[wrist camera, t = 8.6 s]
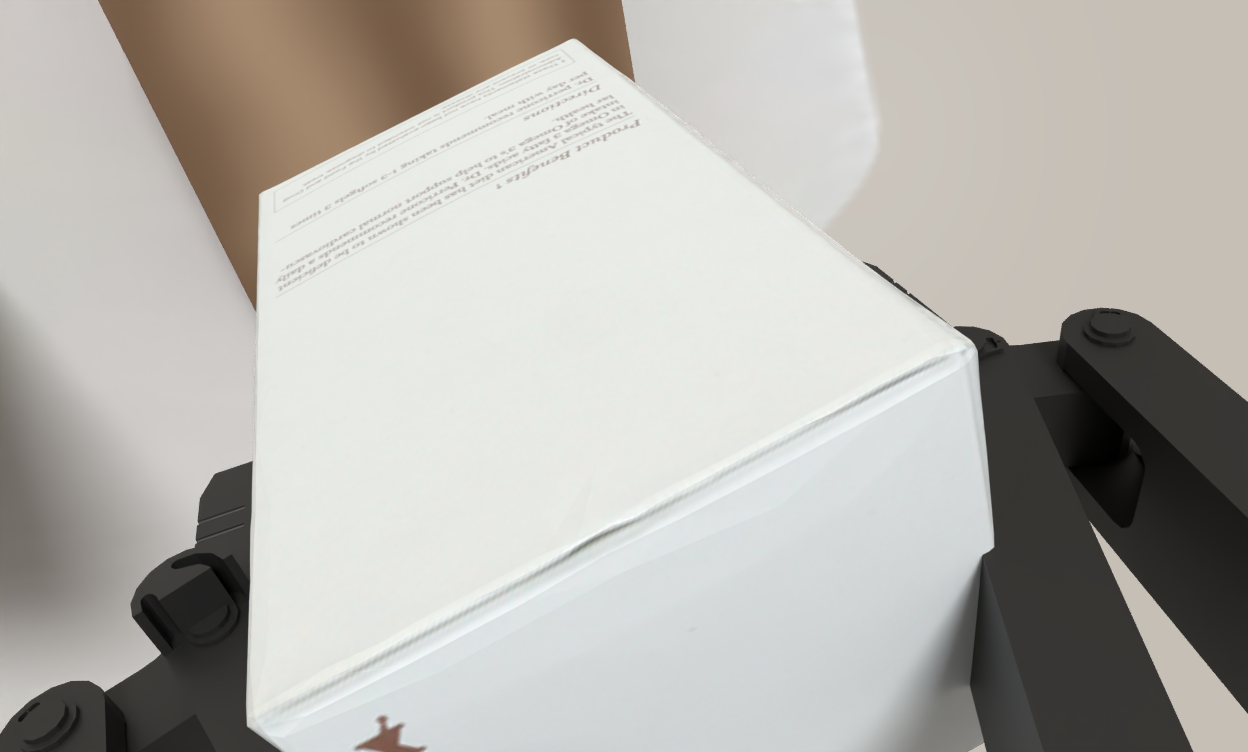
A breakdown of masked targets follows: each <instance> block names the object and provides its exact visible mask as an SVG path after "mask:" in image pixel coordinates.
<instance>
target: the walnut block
mask: <svg viewBox="0 0 1248 752" xmlns="http://www.w3.org/2000/svg"><path fill="white" fill-rule="evenodd" d="M98 1H99V3H100V5H101V7H102V9H103V11H104V13H105V15H106V17H107V19H108V21H109V23H110V25H111V27H112V29H113V31H114V33H115V35H116V37H117V39H118V41H119V43H120V45H121V47H122V49H123V51H124V52H125V54H126V56H127V58H128V60H129V62H130V64H131V66H132V68H133V70H134V72H135V74H136V76H137V78H138V80H139V82H140V84H141V86H142V88H143V90H144V92H145V94H146V96H147V98H148V100H149V102H150V104H151V106H152V108H153V110H154V112H155V114H156V116H157V118H158V120H159V122H160V123H161V125H162V127H163V129H164V131H165V133H166V135H167V137H168V139H169V141H170V143H171V145H172V147H173V149H174V151H175V153H176V155H177V157H178V159H179V161H180V163H181V165H182V167H183V169H184V171H185V173H186V175H187V177H188V179H189V181H190V183H191V185H192V187H193V189H194V191H195V192H196V194H197V196H198V198H199V200H200V202H201V204H202V206H203V208H204V210H205V212H206V214H207V216H208V218H209V220H210V222H211V224H212V226H213V228H214V230H215V232H216V234H217V236H218V238H219V240H220V242H221V244H222V246H223V248H224V250H225V252H226V254H227V256H228V258H229V260H230V262H231V263H232V265H233V267H234V269H235V271H236V273H237V275H238V277H239V279H240V281H241V283H242V285H243V287H244V289H245V291H246V293H247V295H248V297H249V299H250V301H251V303H252V305H253V307H254V309H255V311H256V305H257V266H258V222H259V194H261V193H262V192H264V191H266V190H268V189H270V188H272V187H274V186H277V185H279V184H281V183H283V182H285V181H287V180H289V179H291V178H293V177H295V176H296V175H298V174H300V173H302V172H304V171H306V170H308V169H310V168H312V167H314V166H316V165H318V164H320V163H322V162H324V161H326V160H328V159H330V158H332V157H334V156H336V155H338V154H340V153H342V152H344V151H346V150H348V149H350V148H352V147H354V146H356V145H358V144H360V143H362V142H364V141H366V140H368V139H370V138H372V137H374V136H376V135H378V134H380V133H382V132H384V131H386V130H388V129H390V128H392V127H394V126H396V125H398V124H400V123H402V122H404V121H406V120H408V119H410V118H412V117H414V116H416V115H418V114H420V113H422V112H424V111H426V110H428V109H430V108H432V107H434V106H436V105H438V104H440V103H442V102H444V101H446V100H448V99H450V98H452V97H454V96H456V95H458V94H460V93H462V92H464V91H466V90H468V89H470V88H472V87H474V86H476V85H478V84H480V83H482V82H484V81H486V80H488V79H490V78H492V77H494V76H496V75H498V74H500V73H502V72H504V71H506V70H508V69H510V68H512V67H514V66H516V65H518V64H520V63H522V62H525V61H527V60H529V59H531V58H533V57H535V56H537V55H539V54H542V53H544V52H546V51H548V50H550V49H552V48H554V47H556V46H558V45H560V44H562V43H564V42H566V41H568V40H571V39H576V40H578V41H580V42H581V43H582V44H584V45H585V46H586V47H587V48H588V49H590V50H591V51H592V52H594V53H595V54H596V55H598V56H599V57H600V58H602V59H603V60H604V61H606V62H607V63H608V64H610V65H611V66H612V67H614V68H615V69H616V70H618V71H619V72H621V73H622V74H624V75H625V76H627V77H628V78H629V79H631V80H632V81H633V82H634V83H635V80H634V74H633V68H632V62H631V56H630V50H629V44H628V37H627V31H626V25H625V19H624V13H623V7H622V1H621V0H98Z"/></svg>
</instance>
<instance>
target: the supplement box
mask: <svg viewBox="0 0 1248 752" xmlns="http://www.w3.org/2000/svg"><path fill="white" fill-rule="evenodd" d="M993 548H994V529H993V517H992V506H991V495H990V483H989V472H988V460H987V449H986V440H985V430H984V420H983V411H982V401H981V391H980V379H979V364H978V351H977V349H976V347H975V345H974V343H973V342H972V341H971V340H970V339H968V338H967V337H966V336H964V335H963V334H962V333H960V332H959V331H957V330H956V329H955V328H953V327H952V326H950V325H949V324H947V323H946V322H945V321H943V320H942V319H940V318H939V317H937V316H936V315H934V314H933V313H932V312H930V311H929V310H927V309H926V308H924V307H923V306H922V305H920V304H919V303H917V302H916V301H914V300H913V299H912V298H910V297H909V296H907V295H906V294H904V293H903V292H902V291H900V290H899V289H897V288H896V287H895V286H893V285H892V284H891V283H889V282H888V281H887V280H885V279H884V278H883V277H881V276H880V275H879V274H877V273H876V272H875V271H873V270H872V269H871V268H869V267H868V266H867V265H865V264H864V263H863V262H861V261H860V260H859V259H857V258H856V257H855V256H853V255H852V254H851V253H850V252H848V251H847V250H846V249H845V248H843V247H842V246H841V245H839V244H838V243H837V242H836V241H834V240H833V239H832V238H831V237H829V236H828V235H826V233H824V232H823V231H822V230H820V229H819V228H818V227H817V226H815V225H814V224H813V223H812V222H810V221H809V220H808V219H806V218H805V217H804V216H803V215H801V214H800V213H799V212H797V211H796V210H795V209H794V208H792V207H791V206H790V205H788V204H787V203H786V202H785V201H783V200H782V199H781V198H779V197H778V196H777V195H776V194H774V193H773V192H772V191H771V190H769V189H768V188H767V187H766V186H764V185H763V184H762V183H761V182H759V181H758V180H757V179H756V178H754V177H753V176H752V175H751V174H750V173H748V172H747V171H746V170H745V169H743V168H742V167H741V166H740V165H739V164H737V163H736V162H735V161H733V160H732V159H731V158H729V157H728V156H726V155H725V154H724V153H723V152H722V151H721V150H719V149H718V148H717V147H716V146H714V145H713V144H711V143H710V142H709V141H708V140H707V139H705V138H704V137H703V136H702V135H700V134H699V133H698V132H697V131H695V130H694V129H693V128H691V127H690V126H689V125H688V124H686V123H685V122H684V121H683V120H681V119H680V118H679V117H678V116H676V115H675V114H674V113H673V112H671V111H670V110H669V109H668V108H666V107H665V106H663V105H662V104H661V103H659V102H658V101H657V100H655V99H654V98H653V97H652V96H650V95H649V94H648V93H647V92H646V91H645V90H643V89H642V88H641V87H639V86H638V85H637V84H636V83H634V82H633V81H632V80H631V79H629V78H628V77H627V76H625V75H624V74H622V73H621V72H619V71H618V70H616V69H615V68H614V67H612V66H611V65H610V64H608V63H607V62H606V61H604V60H603V59H602V58H600V57H599V56H598V55H596V54H595V53H594V52H592V51H591V50H590V49H588V48H587V47H586V46H585V45H584V44H582V43H581V42H580V41H578V40H576V39H571V40H568V41H566V42H564V43H562V44H560V45H558V46H556V47H554V48H552V49H550V50H548V51H546V52H544V53H542V54H539V55H537V56H535V57H533V58H531V59H529V60H527V61H525V62H522V63H520V64H518V65H516V66H514V67H512V68H510V69H508V70H506V71H504V72H502V73H500V74H498V75H496V76H494V77H492V78H490V79H488V80H486V81H484V82H482V83H480V84H478V85H476V86H474V87H472V88H470V89H468V90H466V91H464V92H462V93H460V94H458V95H456V96H454V97H452V98H450V99H448V100H446V101H444V102H442V103H440V104H438V105H436V106H434V107H432V108H430V109H428V110H426V111H424V112H422V113H420V114H418V115H416V116H414V117H412V118H410V119H408V120H406V121H404V122H402V123H400V124H398V125H396V126H394V127H392V128H390V129H388V130H386V131H384V132H382V133H380V134H378V135H376V136H374V137H372V138H370V139H368V140H366V141H364V142H362V143H360V144H358V145H356V146H354V147H352V148H350V149H348V150H346V151H344V152H342V153H340V154H338V155H336V156H334V157H332V158H330V159H328V160H326V161H324V162H322V163H320V164H318V165H316V166H314V167H312V168H310V169H308V170H306V171H304V172H302V173H300V174H298V175H296V176H295V177H293V178H291V179H289V180H287V181H285V182H283V183H281V184H279V185H277V186H274V187H272V188H270V189H268V190H266V191H264V192H262V193H261V194H259V222H258V266H257V305H256V341H255V377H254V438H253V473H252V517H251V528H250V596H249V627H248V659H247V690H246V714H247V727H249V728H250V729H251V730H253V731H254V732H255V733H257V734H258V735H259V736H261V737H262V738H264V739H265V740H266V741H268V742H269V743H270V744H272V745H273V746H275V747H276V748H277V749H279V750H280V751H281V752H968V751H970V750H972V749H974V748H975V747H977V746H979V745H981V744H983V743H984V739H983V735H982V732H981V728H980V724H979V720H978V716H977V712H976V708H975V704H974V700H973V696H972V693H971V689H970V678H971V669H972V659H973V649H974V639H975V629H976V618H977V608H978V597H979V587H980V576H981V566H982V555H983V554H985V553H987V552H989V551H990V550H991V549H993Z"/></svg>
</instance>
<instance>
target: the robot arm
mask: <svg viewBox="0 0 1248 752" xmlns="http://www.w3.org/2000/svg"><path fill="white" fill-rule="evenodd" d="M861 262H862V261H861ZM863 263H864V264H865V265H867V266H868V267H869V268H871V269H872V270H873V271H875V272H876V273H877V274H879V275H880V276H881V277H883V278H884V279H885V280H887V281H888V282H889V283H891V284H892V285H893V286H895V287H896V288H897V289H899V290H900V291H902V292H903V293H904V294H906V295H907V296H909V297H910V298H912V299H913V300H914V301H916V302H917V303H919V304H920V305H922V306H923V307H924V308H926V309H927V310H929V311H930V312H932V313H933V314H934V315H936V316H937V317H939V316H938V315H937V314H936V313H934V312H933V311H932V310H931V309H929V308H928V307H927V306H925V305H924V304H923V303H922V302H921V301H919V300H918V299H917V298H916V297H914V296H913V295H912V294H908V293H907V290H905V289H904V288H903V287H902V286H900V285H899V284H898V283H894V281H893V279H892V278H890V277H889V276H888V275H887V274H885V273H884V272H883V271H882V270H880V269H879V268H878V267H877V266H874V265H871V264H868V263H865V262H863ZM939 318H940V319H942V318H941V317H939ZM942 320H943V319H942ZM943 321H944V320H943ZM945 322H946V321H945ZM946 323H947V322H946ZM947 324H948V323H947ZM950 326H951V325H950ZM953 328H955V329H956V330H957V331H959V332H960V333H962V334H963V335H964V336H966V337H967V338H968V339H970V340H971V341H972V342H973V343H974V345H975V347H976V349H977V351H978V364H979V379H980V391H981V401H982V411H983V420H984V430H985V440H986V449H987V460H988V472H989V483H990V495H991V506H992V517H993V529H994V548H993V549H991V550H990V551H989V552H987V553H985V554H983V555H982V566H981V576H980V587H979V597H978V608H977V618H976V629H975V639H974V649H973V659H972V669H971V678H970V689H971V693H972V696H973V700H974V704H975V708H976V712H977V716H978V720H979V724H980V728H981V732H982V735H983V739H984V743H985V747H986V751H987V752H1193V750H1192V748H1191V746H1190V743H1189V741H1188V739H1187V737H1186V735H1185V732H1184V730H1183V728H1182V726H1181V723H1180V721H1179V719H1178V717H1177V715H1176V713H1175V711H1174V708H1173V706H1172V704H1171V701H1170V699H1169V697H1168V695H1167V692H1166V690H1165V688H1164V686H1163V684H1162V682H1161V679H1160V677H1159V675H1158V673H1157V671H1156V669H1155V666H1154V664H1153V662H1152V659H1151V657H1150V655H1149V653H1148V650H1147V648H1146V646H1145V644H1144V642H1143V639H1142V637H1141V635H1140V633H1139V631H1138V628H1137V626H1136V624H1135V622H1134V619H1133V617H1132V615H1131V613H1130V611H1129V608H1128V606H1127V604H1126V602H1125V600H1124V597H1123V595H1122V593H1121V591H1120V588H1119V586H1118V584H1117V582H1116V580H1115V577H1114V575H1113V573H1112V571H1111V569H1110V566H1109V564H1108V562H1107V560H1106V557H1105V555H1104V553H1103V551H1102V549H1101V546H1100V544H1099V542H1098V540H1097V538H1096V535H1095V533H1094V531H1093V529H1092V526H1091V524H1090V522H1091V523H1092V525H1093V526H1094V527H1095V528H1096V529H1097V531H1098V532H1099V533H1100V534H1101V536H1102V537H1103V538H1104V539H1105V540H1106V542H1107V543H1108V544H1109V545H1110V546H1111V547H1112V549H1113V550H1114V551H1115V553H1116V554H1117V555H1118V556H1119V557H1120V559H1121V560H1122V561H1123V562H1124V563H1125V565H1126V566H1127V567H1128V568H1129V570H1130V571H1131V572H1132V573H1133V574H1134V576H1135V577H1136V578H1137V579H1138V581H1139V582H1140V583H1141V584H1142V585H1143V587H1144V588H1145V589H1146V590H1147V592H1148V593H1149V594H1150V595H1151V596H1152V597H1153V599H1154V600H1155V601H1156V602H1157V604H1158V605H1159V606H1160V607H1161V609H1162V610H1163V611H1164V612H1165V613H1166V614H1167V616H1168V617H1169V618H1170V620H1172V622H1173V623H1174V624H1175V626H1176V627H1177V628H1178V629H1179V630H1180V632H1181V633H1182V634H1183V635H1184V636H1185V638H1186V639H1187V640H1188V641H1189V643H1190V644H1191V645H1192V646H1193V648H1194V649H1195V650H1196V651H1197V652H1198V654H1199V655H1200V656H1201V657H1202V659H1203V660H1204V661H1205V662H1206V663H1207V665H1208V666H1209V667H1210V668H1211V669H1212V671H1213V672H1214V673H1215V674H1216V676H1217V677H1218V678H1219V679H1220V680H1221V682H1222V683H1223V684H1224V685H1225V687H1226V688H1227V689H1228V690H1229V691H1230V692H1231V694H1232V695H1233V696H1234V698H1235V699H1236V700H1237V701H1238V702H1239V703H1240V705H1241V706H1242V707H1243V708H1244V710H1245V711H1246V712H1247V713H1248V402H1247V401H1246V400H1245V399H1243V398H1242V397H1241V396H1240V395H1239V394H1237V393H1236V392H1235V391H1234V390H1232V389H1231V388H1230V387H1229V386H1228V385H1227V384H1225V383H1224V382H1223V381H1222V380H1220V379H1219V378H1218V377H1217V376H1216V375H1214V374H1213V373H1212V372H1211V371H1210V370H1208V369H1207V368H1206V367H1205V366H1203V365H1202V364H1201V363H1200V362H1199V361H1197V360H1196V359H1195V358H1194V357H1192V356H1191V355H1190V354H1189V353H1188V352H1186V351H1185V350H1184V349H1183V348H1182V347H1180V346H1179V345H1178V344H1177V343H1176V342H1174V341H1173V340H1172V339H1171V338H1170V337H1168V336H1167V335H1166V334H1165V333H1163V332H1162V331H1161V330H1160V329H1159V328H1157V327H1156V326H1155V325H1154V324H1152V323H1151V322H1149V321H1148V320H1146V319H1144V318H1143V317H1141V316H1139V315H1137V314H1134V313H1131V312H1127V311H1124V310H1120V309H1112V308H1111V309H1109V308H1097V309H1087V310H1083V311H1080V312H1077V313H1075V314H1072V315H1070V316H1069V317H1068V318H1067V319H1066V320H1065V321H1064V322H1063V323H1062V328H1061V334H1060V340H1059V341H1050V342H1042V343H1033V344H1025V345H1013V346H1012V345H1011V346H1009V345H1008V343H1007V342H1006V341H1005V340H1004V338H1003V337H1001V336H999V335H997V334H995V333H993V332H991V331H989V330H985V329H981V328H977V327H962V326H956V327H953ZM252 473H253V461H252V462H249V463H246V464H243V465H240V466H237V467H234V468H231V469H228V470H225V471H222V472H219V473H216V474H215V475H214V476H213V478H212V479H211V481H210V483H209V484H208V486H207V488H206V489H205V491H204V493H203V494H202V496H201V498H200V503H199V513H198V523H199V525H198V526H197V532H196V541H197V544H195V548H192V549H188V550H185V551H183V552H181V553H179V554H177V555H175V556H173V557H171V558H169V559H167V560H166V561H164V562H163V563H162V564H160V565H159V566H158V567H157V568H155V569H154V570H153V571H151V572H150V573H149V574H148V575H147V577H146V578H145V579H144V580H143V581H142V583H141V584H140V585H139V586H138V588H137V589H136V592H135V594H134V597H133V599H132V602H131V610H132V617H133V619H134V620H135V621H136V622H137V624H138V625H139V626H140V627H141V628H142V630H143V631H144V632H145V633H146V635H147V636H148V637H149V638H150V640H151V641H152V642H153V643H154V645H155V646H156V647H157V648H158V650H159V651H160V652H161V653H162V654H161V655H159V656H158V657H157V658H156V659H155V660H154V661H152V662H151V663H149V664H148V665H147V666H145V667H144V668H142V669H141V670H139V671H138V672H136V673H135V674H133V675H131V676H130V677H128V678H127V679H125V680H123V681H122V682H120V683H119V684H117V685H115V686H114V687H112V688H111V689H109V690H107V691H106V692H104V691H103V690H102V689H101V688H100V687H99V686H97V685H95V684H93V683H92V682H90V681H70V682H67V683H64V684H61V685H58V686H56V687H53V688H50V689H49V690H47V691H45V692H44V693H42V694H40V695H39V696H37V697H36V698H34V699H32V700H31V701H29V702H28V703H27V704H26V705H25V706H24V707H23V708H22V709H21V710H20V711H19V712H17V713H16V714H15V715H14V716H13V717H12V718H11V719H10V721H9V722H8V724H7V725H6V726H5V728H4V729H3V731H2V732H1V734H0V752H281V751H280V750H279V749H277V748H276V747H275V746H273V745H272V744H270V743H269V742H268V741H266V740H265V739H264V738H262V737H261V736H259V735H258V734H257V733H255V732H254V731H253V730H251V729H250V728H249V727H247V714H246V690H247V659H248V627H249V596H250V528H251V517H252ZM1089 521H1090V522H1089Z"/></svg>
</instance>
